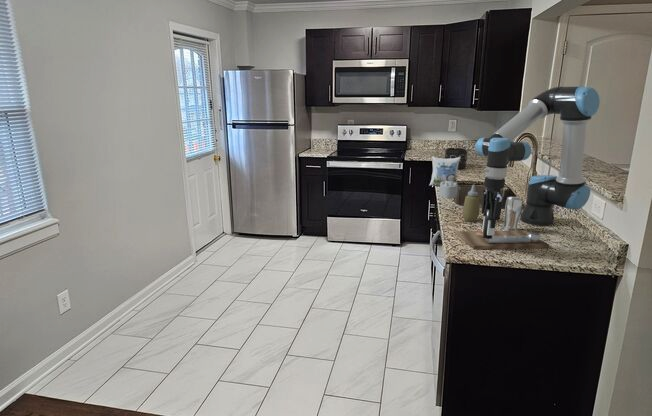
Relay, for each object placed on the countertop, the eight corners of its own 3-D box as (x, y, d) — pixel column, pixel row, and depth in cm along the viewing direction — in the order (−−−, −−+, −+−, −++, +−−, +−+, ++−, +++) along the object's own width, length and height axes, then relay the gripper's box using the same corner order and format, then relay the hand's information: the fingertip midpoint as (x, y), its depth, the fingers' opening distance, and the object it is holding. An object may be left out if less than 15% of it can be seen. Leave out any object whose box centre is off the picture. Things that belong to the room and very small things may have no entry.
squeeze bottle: (465, 216, 214) (469, 182, 209) (480, 220, 209) (485, 184, 204) (458, 220, 208) (462, 184, 203) (474, 223, 203) (479, 187, 198)
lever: (535, 238, 178) (540, 207, 174) (542, 243, 173) (547, 210, 169) (480, 239, 176) (484, 207, 172) (485, 244, 171) (489, 211, 167)
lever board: (522, 232, 192) (523, 228, 191) (548, 247, 173) (549, 244, 172) (455, 233, 189) (455, 229, 189) (473, 249, 170) (474, 245, 170)
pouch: (428, 184, 287) (430, 155, 281) (456, 185, 285) (459, 155, 280) (430, 186, 279) (432, 156, 273) (459, 187, 278) (462, 157, 272)
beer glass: (498, 228, 197) (503, 197, 193) (510, 226, 199) (514, 196, 195) (510, 232, 191) (514, 200, 187) (521, 231, 193) (526, 199, 189)
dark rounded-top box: (460, 171, 335) (462, 151, 331) (439, 167, 347) (441, 149, 343) (470, 168, 348) (472, 149, 344) (450, 165, 360) (452, 147, 355)
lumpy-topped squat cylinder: (457, 194, 260) (458, 180, 258) (456, 199, 248) (457, 184, 246) (440, 192, 264) (441, 179, 261) (438, 197, 252) (439, 183, 249)
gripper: (477, 173, 174) (470, 226, 180) (496, 182, 158) (488, 240, 164) (494, 173, 174) (487, 226, 181) (515, 182, 158) (506, 240, 165)
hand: (488, 233), depth 173 cm, fingers closed on lever, 4 cm apart
